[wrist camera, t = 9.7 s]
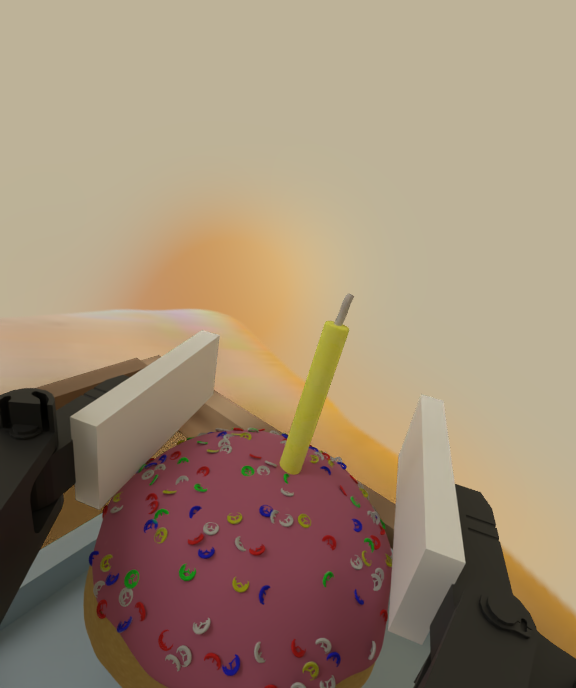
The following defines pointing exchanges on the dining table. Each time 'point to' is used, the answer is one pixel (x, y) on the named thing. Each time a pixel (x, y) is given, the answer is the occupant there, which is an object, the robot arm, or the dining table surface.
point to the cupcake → (243, 560)
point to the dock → (197, 418)
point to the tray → (73, 641)
